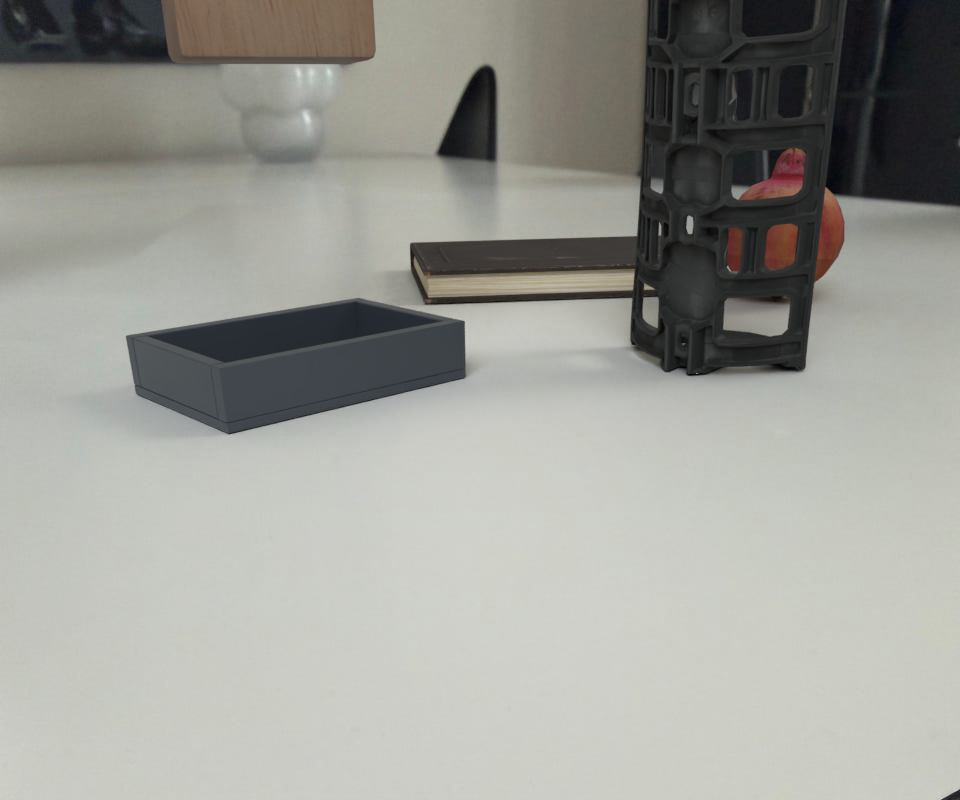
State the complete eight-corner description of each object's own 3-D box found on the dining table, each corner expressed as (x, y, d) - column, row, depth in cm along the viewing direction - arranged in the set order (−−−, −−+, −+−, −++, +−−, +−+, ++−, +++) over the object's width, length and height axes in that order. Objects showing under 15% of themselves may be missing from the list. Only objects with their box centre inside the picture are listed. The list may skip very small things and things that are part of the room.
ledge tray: (135, 393, 52) (125, 335, 51) (361, 348, 61) (358, 297, 59) (228, 434, 46) (219, 368, 45) (466, 377, 55) (465, 320, 53)
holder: (827, 351, 57) (878, -75, 46) (790, 395, 52) (836, -73, 41) (647, 334, 63) (654, -53, 52) (596, 373, 57) (591, -49, 46)
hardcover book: (729, 293, 75) (732, 260, 74) (425, 304, 73) (423, 270, 72) (668, 261, 89) (670, 234, 88) (410, 269, 87) (409, 241, 86)
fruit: (705, 291, 76) (719, 145, 72) (809, 289, 77) (829, 143, 72) (736, 312, 69) (753, 151, 64) (850, 309, 70) (876, 149, 65)
